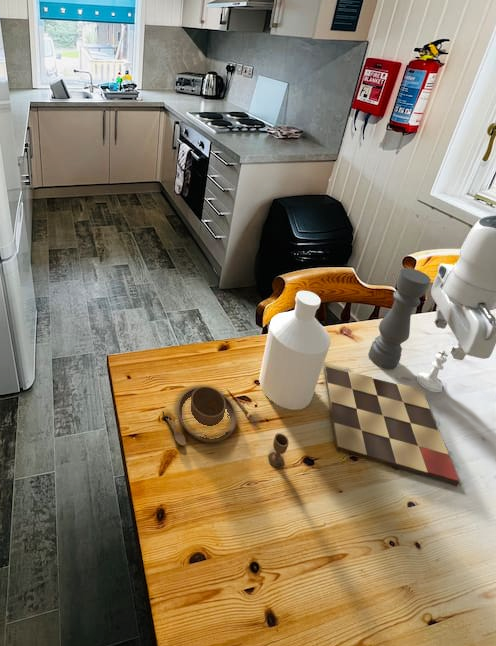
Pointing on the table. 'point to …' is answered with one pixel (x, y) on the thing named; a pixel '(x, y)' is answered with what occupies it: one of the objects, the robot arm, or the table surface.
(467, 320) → the robot arm
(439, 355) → the chess piece
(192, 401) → the place setting
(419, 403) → the board
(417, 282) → the candle holder
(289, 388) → the bottle
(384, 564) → the table surface
